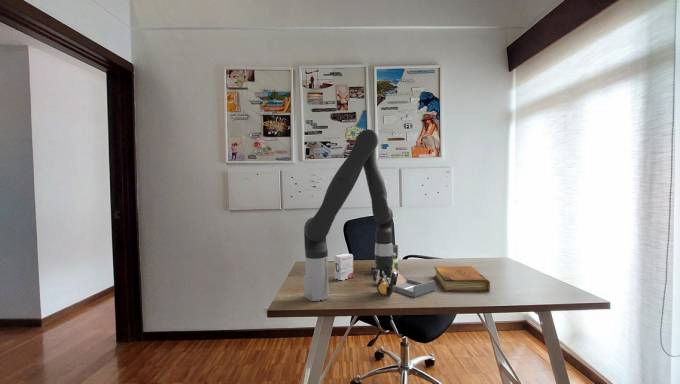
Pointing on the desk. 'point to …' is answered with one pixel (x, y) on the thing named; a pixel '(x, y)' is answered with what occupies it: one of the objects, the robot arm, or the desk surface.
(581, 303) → the desk surface
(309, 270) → the robot arm
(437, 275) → the diary
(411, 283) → the rolling lane
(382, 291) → the ball
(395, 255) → the coffee can
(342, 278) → the ink box
